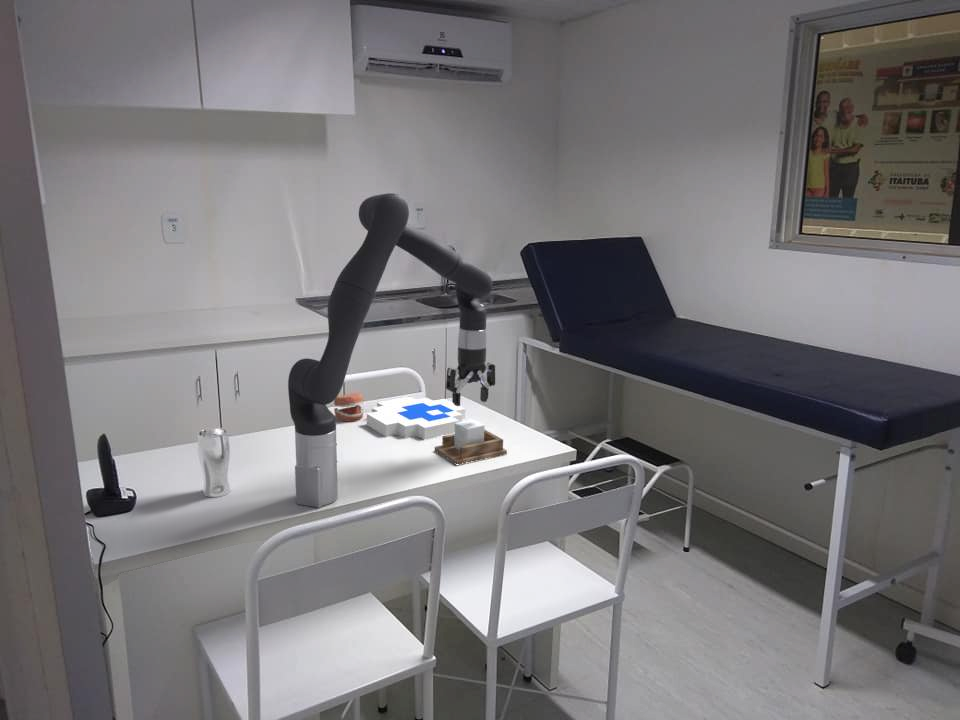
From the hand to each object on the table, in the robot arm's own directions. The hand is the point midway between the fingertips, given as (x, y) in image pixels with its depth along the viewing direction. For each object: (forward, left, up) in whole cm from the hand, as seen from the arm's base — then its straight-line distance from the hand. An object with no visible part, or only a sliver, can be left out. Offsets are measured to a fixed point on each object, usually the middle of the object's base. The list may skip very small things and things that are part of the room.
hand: (470, 403), depth 198 cm
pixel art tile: (+19, +23, -15) cm, 33 cm away
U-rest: (+1, 0, -14) cm, 14 cm away
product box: (0, 0, -13) cm, 13 cm away
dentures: (+15, +43, -15) cm, 47 cm away
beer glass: (-44, +49, -15) cm, 68 cm away
